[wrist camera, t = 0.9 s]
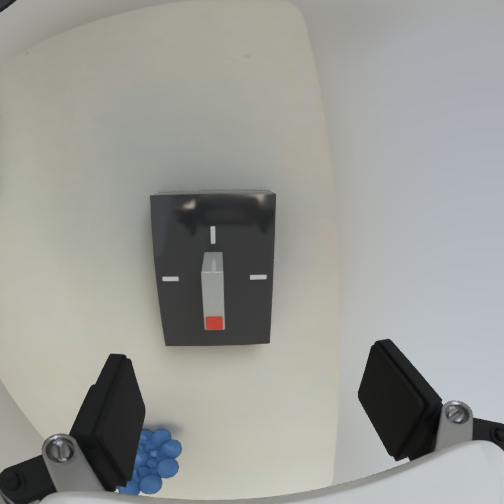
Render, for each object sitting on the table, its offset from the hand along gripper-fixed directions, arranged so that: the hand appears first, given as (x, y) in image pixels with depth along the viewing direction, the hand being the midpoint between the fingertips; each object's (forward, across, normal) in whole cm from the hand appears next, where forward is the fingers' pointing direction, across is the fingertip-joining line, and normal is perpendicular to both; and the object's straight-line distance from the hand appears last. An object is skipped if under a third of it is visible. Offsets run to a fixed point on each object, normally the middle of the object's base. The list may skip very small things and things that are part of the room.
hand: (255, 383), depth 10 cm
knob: (+14, +2, +2) cm, 15 cm away
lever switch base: (+18, +2, +2) cm, 18 cm away
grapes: (+18, +13, +27) cm, 35 cm away
